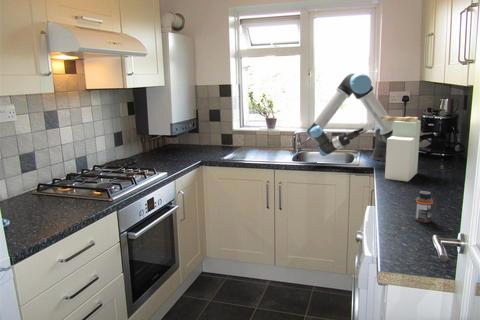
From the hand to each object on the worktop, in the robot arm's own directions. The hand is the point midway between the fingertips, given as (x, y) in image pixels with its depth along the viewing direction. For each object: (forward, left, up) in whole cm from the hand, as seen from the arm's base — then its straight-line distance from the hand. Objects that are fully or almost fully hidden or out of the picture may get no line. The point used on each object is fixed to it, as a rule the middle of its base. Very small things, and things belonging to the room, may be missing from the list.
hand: (372, 125), depth 238 cm
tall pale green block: (-8, +18, -27) cm, 33 cm away
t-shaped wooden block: (-9, +11, +3) cm, 15 cm away
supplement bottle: (+30, +82, -27) cm, 91 cm away
